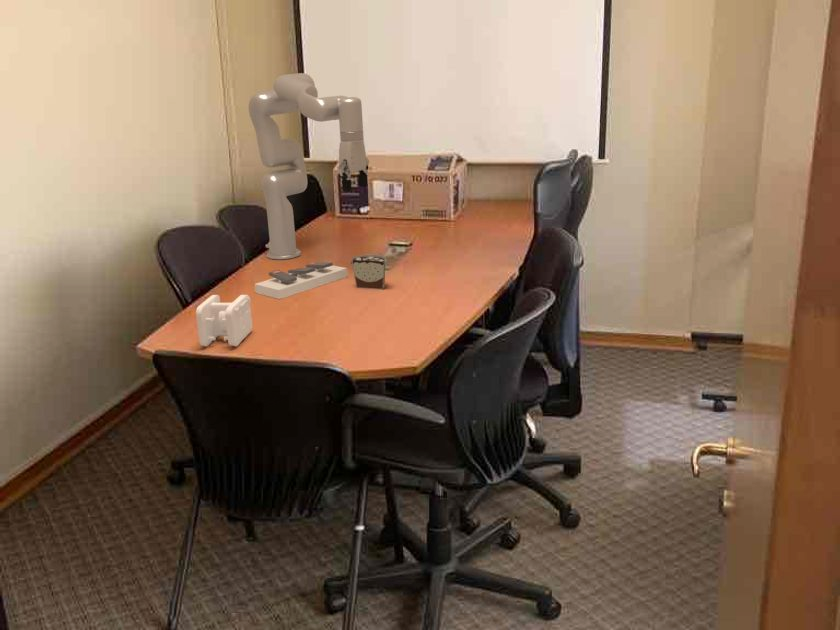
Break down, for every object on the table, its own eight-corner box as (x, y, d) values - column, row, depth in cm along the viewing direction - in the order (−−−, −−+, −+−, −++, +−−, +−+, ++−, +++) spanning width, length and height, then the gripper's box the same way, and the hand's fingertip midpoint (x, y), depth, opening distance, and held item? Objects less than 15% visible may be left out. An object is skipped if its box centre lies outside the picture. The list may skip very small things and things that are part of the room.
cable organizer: (219, 330, 249) (214, 291, 246) (255, 331, 248) (250, 292, 244) (199, 349, 235) (194, 308, 231) (237, 350, 234) (232, 309, 230)
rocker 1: (268, 275, 284) (268, 272, 284) (278, 272, 287) (278, 269, 286) (287, 283, 279) (287, 280, 278) (296, 280, 282) (296, 277, 281)
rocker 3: (306, 267, 296) (305, 264, 295) (315, 265, 298) (314, 261, 298) (324, 268, 290) (323, 264, 289) (332, 265, 292) (332, 262, 292)
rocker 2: (288, 273, 290) (287, 270, 290) (297, 270, 293) (296, 267, 293) (306, 273, 284) (305, 270, 284) (315, 270, 287) (314, 267, 287)
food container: (394, 284, 286) (392, 254, 283) (387, 290, 280) (385, 259, 277) (359, 282, 290) (357, 253, 287) (352, 287, 284) (350, 258, 281)
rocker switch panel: (255, 292, 283) (254, 281, 282) (323, 271, 304) (322, 260, 303) (279, 299, 275) (278, 287, 274) (347, 276, 297) (346, 265, 295)
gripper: (356, 133, 292) (359, 184, 298) (327, 139, 278) (331, 193, 283) (375, 133, 289) (378, 185, 294) (347, 140, 274) (350, 194, 280)
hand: (355, 189), depth 289 cm, fingers open, 9 cm apart
